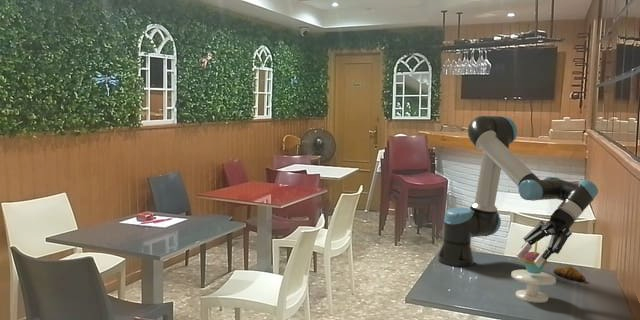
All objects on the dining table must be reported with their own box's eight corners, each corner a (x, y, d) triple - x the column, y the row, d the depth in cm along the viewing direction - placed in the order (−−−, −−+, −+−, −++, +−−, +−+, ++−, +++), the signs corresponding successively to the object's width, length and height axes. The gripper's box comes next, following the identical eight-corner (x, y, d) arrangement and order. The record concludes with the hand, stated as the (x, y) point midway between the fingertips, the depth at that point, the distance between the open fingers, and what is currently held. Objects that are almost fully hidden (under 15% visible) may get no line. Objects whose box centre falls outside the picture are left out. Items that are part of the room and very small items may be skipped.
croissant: (589, 281, 221) (590, 269, 220) (579, 284, 217) (580, 271, 216) (558, 272, 232) (559, 261, 231) (549, 274, 228) (550, 262, 228)
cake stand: (504, 298, 195) (506, 276, 195) (515, 287, 208) (517, 267, 207) (549, 308, 187) (551, 285, 186) (557, 296, 200) (559, 275, 199)
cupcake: (548, 276, 192) (550, 242, 191) (522, 274, 193) (525, 240, 192) (543, 269, 200) (546, 237, 199) (519, 267, 202) (521, 235, 201)
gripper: (594, 228, 191) (554, 276, 186) (549, 216, 210) (512, 259, 206) (584, 213, 188) (544, 262, 184) (539, 203, 208) (502, 246, 203)
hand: (527, 261), depth 195 cm, fingers closed on cupcake, 8 cm apart
